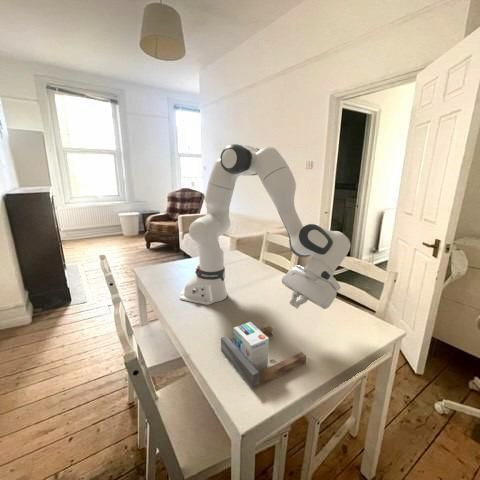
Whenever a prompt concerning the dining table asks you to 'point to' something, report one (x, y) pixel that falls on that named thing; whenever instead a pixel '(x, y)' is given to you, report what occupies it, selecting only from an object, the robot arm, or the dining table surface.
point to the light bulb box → (252, 344)
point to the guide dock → (249, 371)
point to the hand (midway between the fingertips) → (293, 305)
